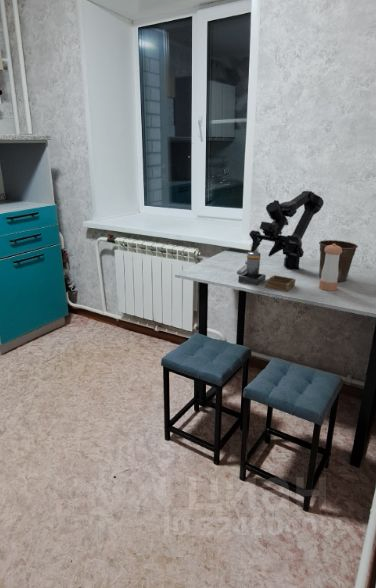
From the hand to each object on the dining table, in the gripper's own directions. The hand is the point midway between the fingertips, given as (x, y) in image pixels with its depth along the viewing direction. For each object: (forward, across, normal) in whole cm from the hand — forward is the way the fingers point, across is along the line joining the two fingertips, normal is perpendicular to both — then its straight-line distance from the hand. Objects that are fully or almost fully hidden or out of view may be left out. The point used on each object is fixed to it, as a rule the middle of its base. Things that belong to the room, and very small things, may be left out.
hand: (260, 254), depth 176 cm
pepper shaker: (0, +28, +16) cm, 32 cm away
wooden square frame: (+10, +13, +7) cm, 17 cm away
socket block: (+11, 0, +5) cm, 12 cm away
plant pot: (-11, +23, +27) cm, 37 cm away
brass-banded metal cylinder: (+11, 0, +5) cm, 12 cm away
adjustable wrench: (+1, -15, +16) cm, 22 cm away
